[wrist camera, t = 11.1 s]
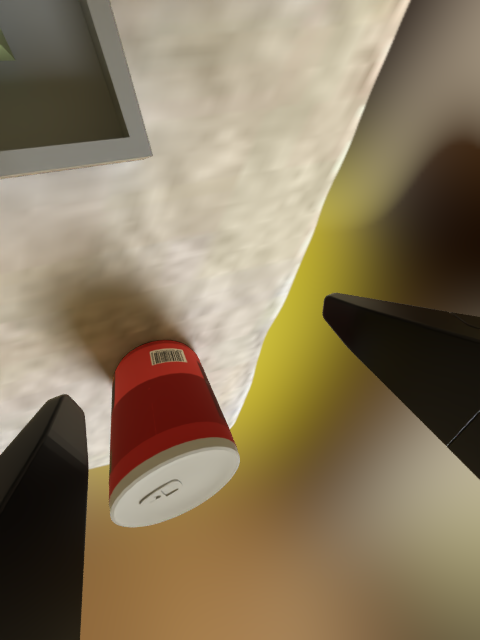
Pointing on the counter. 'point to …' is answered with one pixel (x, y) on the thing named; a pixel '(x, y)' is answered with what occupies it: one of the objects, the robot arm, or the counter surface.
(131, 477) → the canned food
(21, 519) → the robot arm
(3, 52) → the green block
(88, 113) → the grey bin
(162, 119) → the counter surface
